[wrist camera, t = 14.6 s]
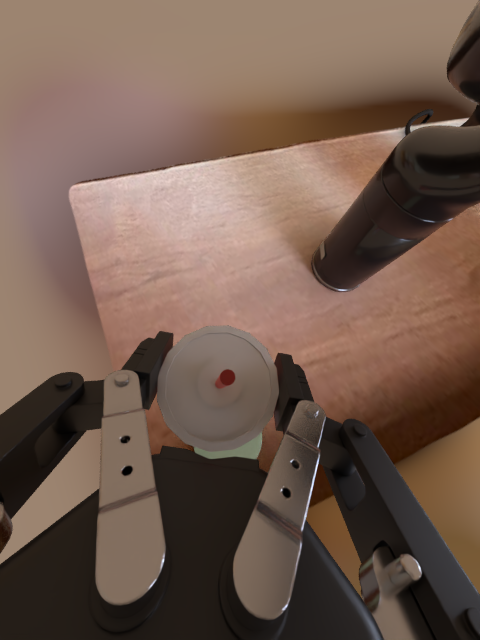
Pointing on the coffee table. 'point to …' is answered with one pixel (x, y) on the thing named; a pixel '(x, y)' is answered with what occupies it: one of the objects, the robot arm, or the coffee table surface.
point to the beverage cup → (217, 388)
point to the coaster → (236, 450)
